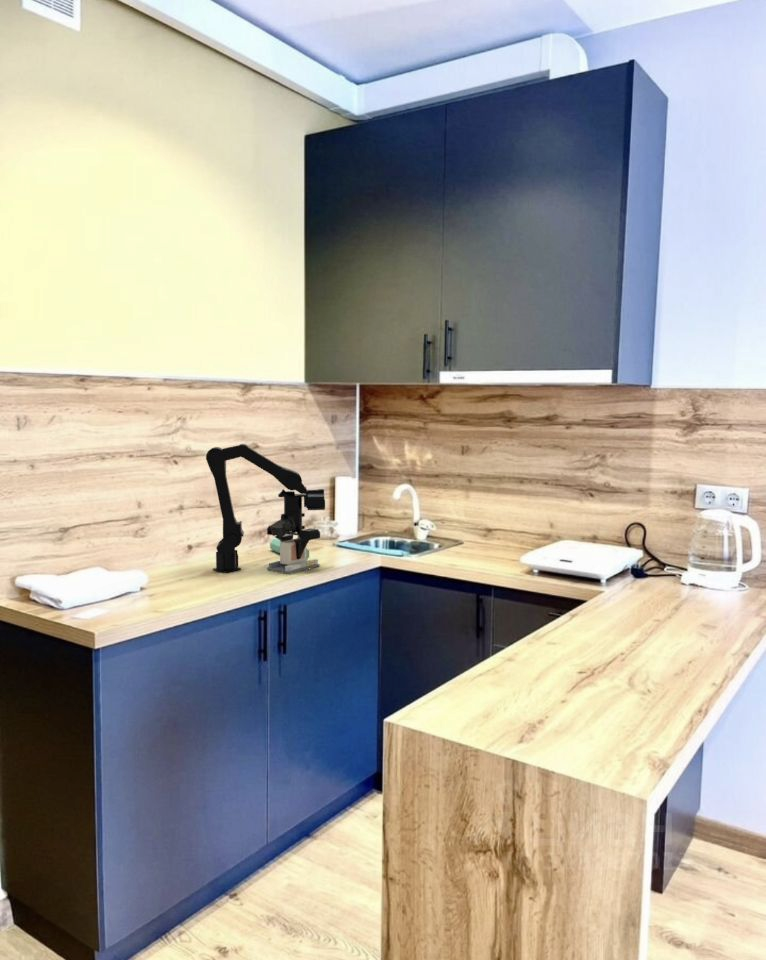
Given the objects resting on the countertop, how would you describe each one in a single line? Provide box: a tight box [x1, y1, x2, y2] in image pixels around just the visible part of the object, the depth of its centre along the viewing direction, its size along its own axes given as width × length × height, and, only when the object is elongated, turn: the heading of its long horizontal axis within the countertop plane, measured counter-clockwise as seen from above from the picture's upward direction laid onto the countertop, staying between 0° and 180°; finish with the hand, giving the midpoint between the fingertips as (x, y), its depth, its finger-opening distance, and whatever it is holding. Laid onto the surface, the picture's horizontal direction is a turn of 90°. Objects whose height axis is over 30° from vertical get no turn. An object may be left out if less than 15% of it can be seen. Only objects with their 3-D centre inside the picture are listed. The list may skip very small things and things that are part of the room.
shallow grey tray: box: [266, 558, 321, 575], centre depth 244 cm, size 14×10×2 cm
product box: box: [279, 538, 307, 565], centre depth 244 cm, size 4×8×7 cm, turn 143°
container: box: [269, 538, 310, 561], centre depth 264 cm, size 6×6×25 cm
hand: (293, 558), depth 244 cm, fingers closed on product box, 4 cm apart
